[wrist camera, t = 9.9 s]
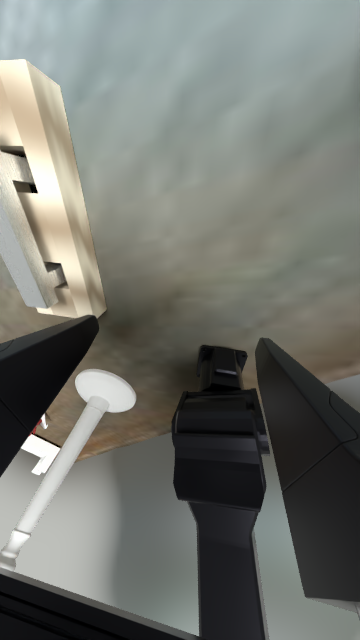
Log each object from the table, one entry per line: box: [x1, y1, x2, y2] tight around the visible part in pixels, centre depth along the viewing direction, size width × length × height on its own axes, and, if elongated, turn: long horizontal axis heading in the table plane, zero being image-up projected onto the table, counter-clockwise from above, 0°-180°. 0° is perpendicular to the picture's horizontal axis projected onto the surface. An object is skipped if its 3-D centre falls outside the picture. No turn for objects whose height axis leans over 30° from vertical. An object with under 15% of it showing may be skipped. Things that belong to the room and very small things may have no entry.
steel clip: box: [0, 150, 67, 309], centre depth 17 cm, size 14×2×6 cm, turn 177°
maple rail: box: [0, 59, 107, 318], centre depth 18 cm, size 20×8×3 cm, turn 177°
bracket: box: [21, 434, 60, 475], centre depth 57 cm, size 13×7×8 cm, turn 47°
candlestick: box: [0, 369, 136, 571], centre depth 24 cm, size 13×13×30 cm
